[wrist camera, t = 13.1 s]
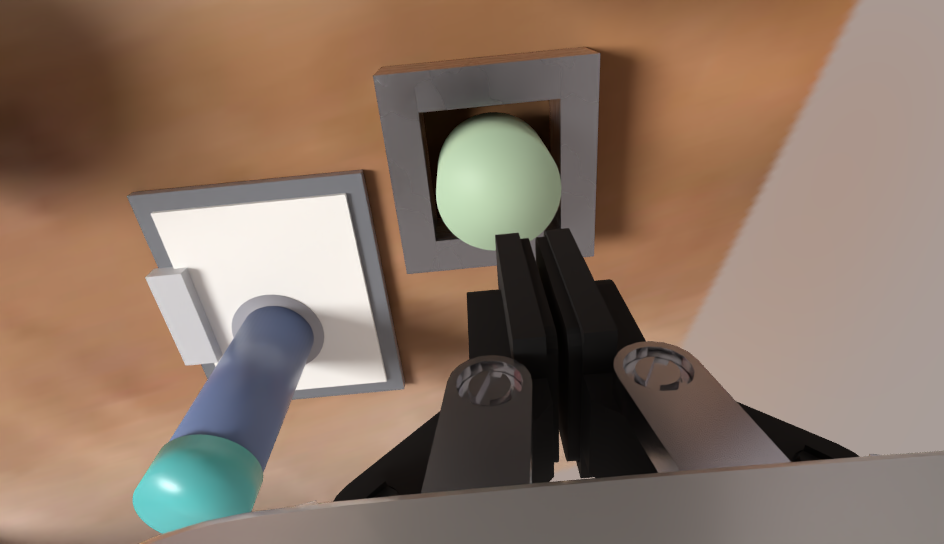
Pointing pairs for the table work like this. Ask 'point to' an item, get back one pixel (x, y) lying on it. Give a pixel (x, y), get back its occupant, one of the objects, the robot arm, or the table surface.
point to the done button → (496, 180)
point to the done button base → (484, 84)
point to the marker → (228, 426)
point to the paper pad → (275, 273)
